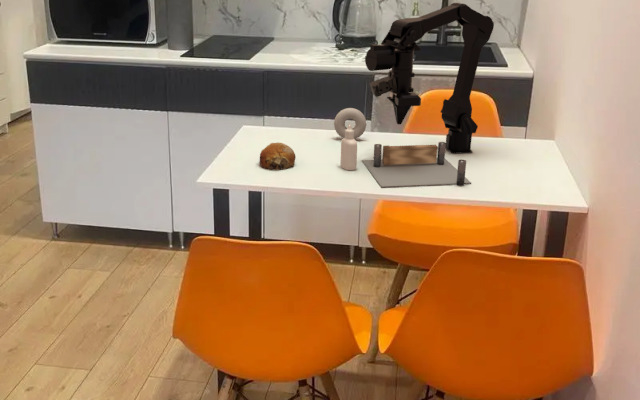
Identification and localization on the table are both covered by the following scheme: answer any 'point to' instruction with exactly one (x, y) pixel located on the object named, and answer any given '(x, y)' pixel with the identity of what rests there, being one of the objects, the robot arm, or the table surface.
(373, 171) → the mat
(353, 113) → the donut
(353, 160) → the eye dropper bottle
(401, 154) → the gate
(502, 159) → the table surface
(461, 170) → the gate posts
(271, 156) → the bread roll
